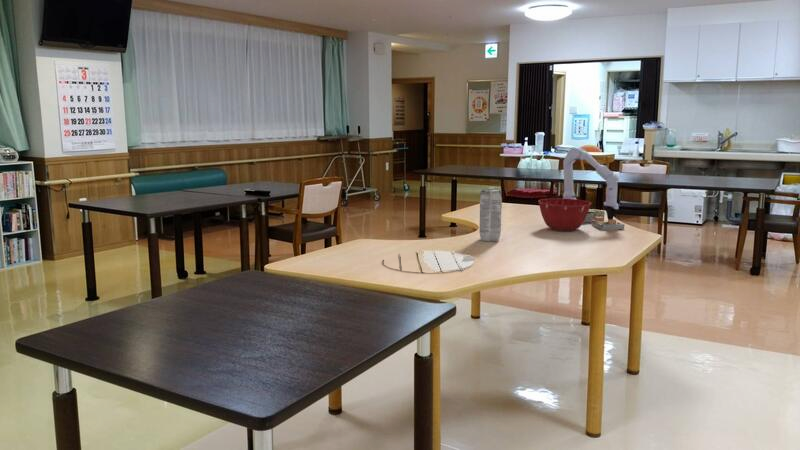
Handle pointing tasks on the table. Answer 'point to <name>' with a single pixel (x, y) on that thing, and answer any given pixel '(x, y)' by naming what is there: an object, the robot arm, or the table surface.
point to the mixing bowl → (564, 213)
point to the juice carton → (490, 214)
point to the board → (599, 222)
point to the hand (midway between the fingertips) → (610, 220)
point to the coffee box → (593, 215)
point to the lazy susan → (447, 260)
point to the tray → (610, 226)
